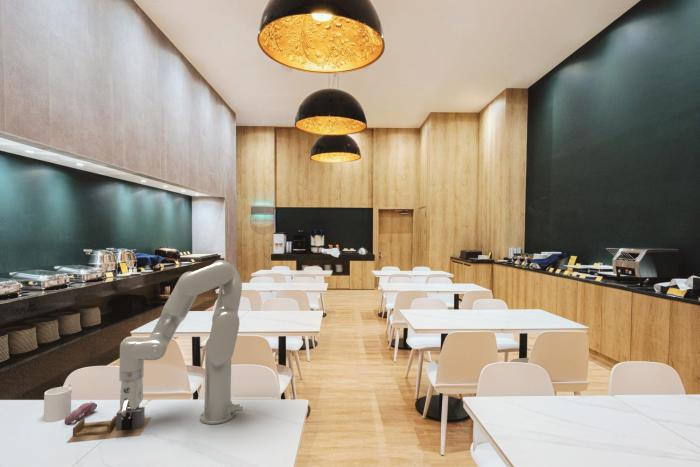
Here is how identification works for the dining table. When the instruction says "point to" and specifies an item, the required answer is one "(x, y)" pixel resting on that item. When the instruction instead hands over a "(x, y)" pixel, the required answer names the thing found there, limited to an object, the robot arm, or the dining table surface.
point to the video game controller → (81, 412)
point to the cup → (57, 403)
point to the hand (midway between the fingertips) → (130, 424)
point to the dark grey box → (136, 418)
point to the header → (102, 431)
